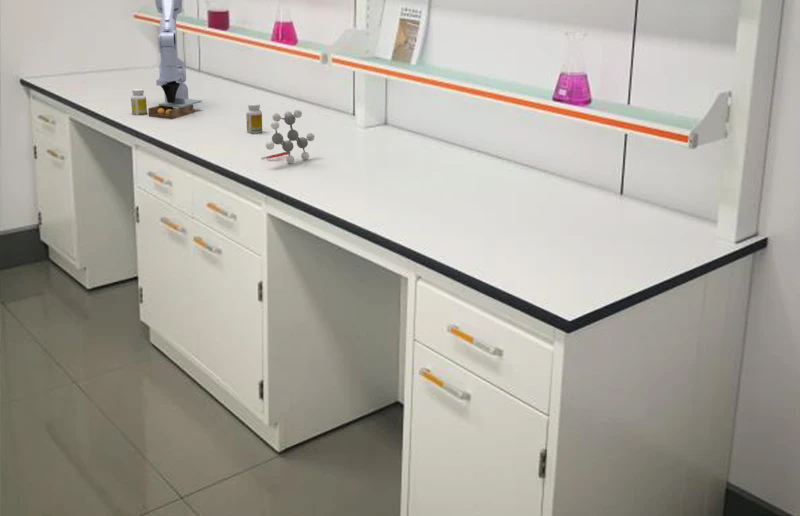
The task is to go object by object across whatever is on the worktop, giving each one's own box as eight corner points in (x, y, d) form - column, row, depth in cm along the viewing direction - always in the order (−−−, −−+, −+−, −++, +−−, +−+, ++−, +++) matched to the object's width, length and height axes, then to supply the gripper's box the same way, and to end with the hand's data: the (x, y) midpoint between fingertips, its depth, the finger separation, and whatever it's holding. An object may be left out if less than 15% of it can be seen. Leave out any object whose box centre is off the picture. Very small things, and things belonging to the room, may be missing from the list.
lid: (180, 99, 347) (179, 92, 346) (201, 101, 344) (201, 95, 343) (158, 105, 335) (158, 98, 334) (181, 107, 332) (180, 100, 331)
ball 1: (160, 114, 334) (159, 107, 333) (166, 115, 333) (166, 108, 332) (155, 116, 331) (155, 108, 331) (162, 116, 331) (161, 109, 330)
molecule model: (293, 159, 290) (284, 111, 287) (328, 155, 280) (318, 105, 277) (248, 171, 275) (237, 120, 272) (283, 167, 265) (272, 114, 262)
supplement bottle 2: (265, 131, 316) (264, 104, 313) (256, 134, 312) (255, 106, 308) (253, 129, 318) (252, 102, 315) (243, 132, 314) (242, 104, 311)
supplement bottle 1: (149, 114, 337) (147, 88, 334) (144, 117, 332) (142, 91, 329) (135, 114, 338) (133, 88, 334) (130, 116, 333) (128, 90, 329)
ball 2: (168, 115, 333) (168, 108, 332) (174, 116, 332) (174, 108, 331) (164, 117, 330) (163, 109, 329) (170, 117, 329) (170, 110, 328)
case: (171, 112, 343) (170, 102, 342) (193, 114, 340) (193, 104, 338) (149, 118, 331) (148, 108, 329) (171, 121, 327) (171, 110, 326)
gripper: (170, 62, 337) (172, 98, 341) (148, 67, 324) (150, 104, 328) (187, 63, 334) (188, 100, 339) (165, 68, 322) (167, 106, 326)
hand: (171, 102), depth 334 cm, fingers closed
